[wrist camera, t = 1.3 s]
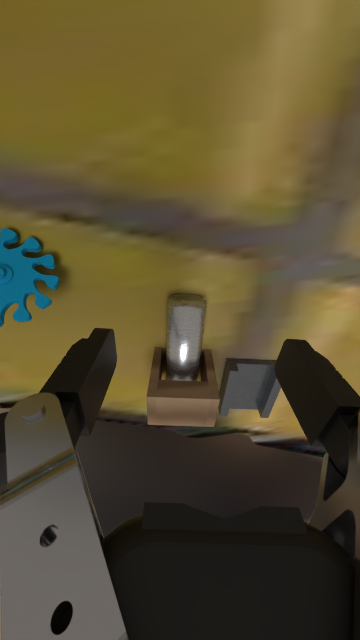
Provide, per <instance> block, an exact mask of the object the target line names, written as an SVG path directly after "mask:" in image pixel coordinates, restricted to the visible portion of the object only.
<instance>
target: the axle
mask: <svg viewBox="0 0 360 640" xmlns="http://www.w3.org/2000/svg"><path fill="white" fill-rule="evenodd" d="M206 305H207V302H206V300H205V299H204V298H202V297H200V296H198V295H194V294H175V295H172V296H170V297H169V298H168V300H167V345H166V380H177V381H197V377H198V369H199V361H200V353H201V345H202V337H203V329H204V321H205V313H206Z"/></svg>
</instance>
